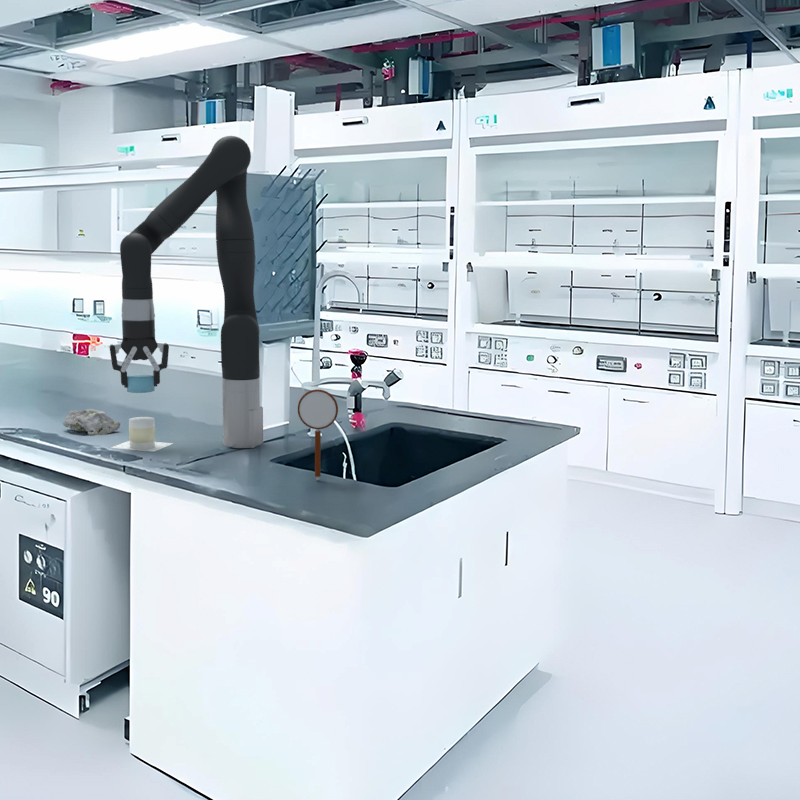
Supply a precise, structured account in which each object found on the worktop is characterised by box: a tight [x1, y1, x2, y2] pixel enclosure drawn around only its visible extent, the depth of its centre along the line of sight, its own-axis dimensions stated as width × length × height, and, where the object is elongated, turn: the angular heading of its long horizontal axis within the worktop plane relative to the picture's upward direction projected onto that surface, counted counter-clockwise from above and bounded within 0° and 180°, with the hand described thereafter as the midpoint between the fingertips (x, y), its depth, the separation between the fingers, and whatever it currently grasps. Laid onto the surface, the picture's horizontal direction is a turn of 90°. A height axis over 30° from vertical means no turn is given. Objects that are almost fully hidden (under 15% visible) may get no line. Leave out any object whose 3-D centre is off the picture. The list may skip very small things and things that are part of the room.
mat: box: [110, 440, 174, 453], centre depth 214 cm, size 12×9×1 cm
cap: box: [126, 374, 156, 394], centre depth 209 cm, size 6×6×4 cm
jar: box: [128, 416, 156, 451], centre depth 211 cm, size 6×6×7 cm
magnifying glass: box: [297, 389, 339, 482], centre depth 184 cm, size 9×2×20 cm, turn 89°
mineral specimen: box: [63, 408, 121, 436], centre depth 228 cm, size 16×7×7 cm, turn 71°
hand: (140, 386), depth 209 cm, fingers closed on cap, 6 cm apart
